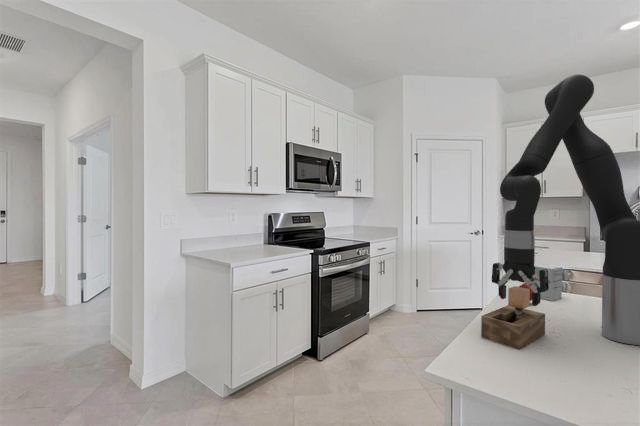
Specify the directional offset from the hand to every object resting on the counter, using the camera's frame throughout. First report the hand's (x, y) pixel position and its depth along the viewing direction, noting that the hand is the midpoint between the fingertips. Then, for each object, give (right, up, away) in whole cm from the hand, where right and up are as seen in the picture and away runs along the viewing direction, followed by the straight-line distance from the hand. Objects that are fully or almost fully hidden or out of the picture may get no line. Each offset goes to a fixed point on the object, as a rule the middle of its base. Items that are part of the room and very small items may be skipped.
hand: (518, 301), depth 94 cm
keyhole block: (-2, -9, -1) cm, 10 cm away
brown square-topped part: (0, -9, 0) cm, 9 cm away
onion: (+19, -8, +27) cm, 34 cm away
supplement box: (+32, -8, +35) cm, 48 cm away
